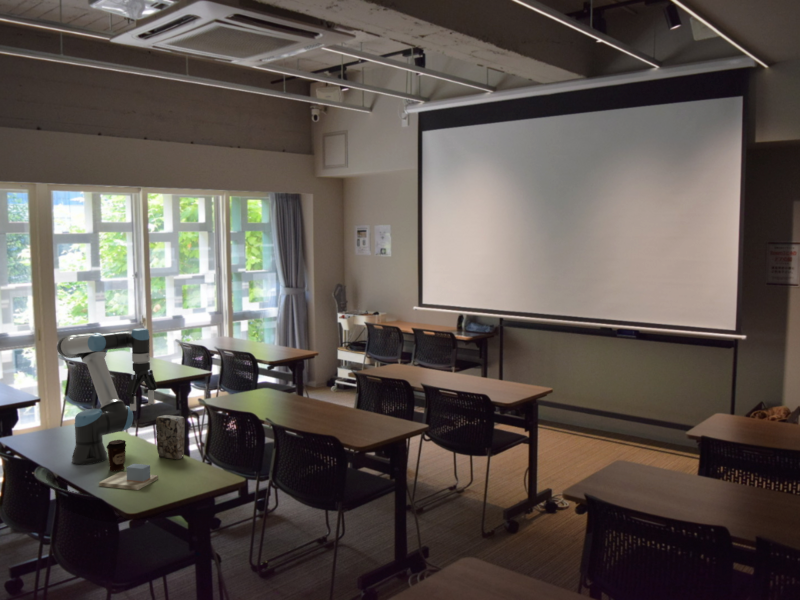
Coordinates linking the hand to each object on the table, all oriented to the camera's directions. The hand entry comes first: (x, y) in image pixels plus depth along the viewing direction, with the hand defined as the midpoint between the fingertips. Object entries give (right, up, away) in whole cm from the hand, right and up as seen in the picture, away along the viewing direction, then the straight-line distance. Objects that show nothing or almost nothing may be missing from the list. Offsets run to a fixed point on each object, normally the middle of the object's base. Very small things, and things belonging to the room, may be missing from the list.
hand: (142, 407), depth 312 cm
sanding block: (+8, -27, -25) cm, 38 cm away
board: (+3, -29, -23) cm, 37 cm away
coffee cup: (-9, -28, -7) cm, 30 cm away
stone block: (+9, -26, +11) cm, 30 cm away
